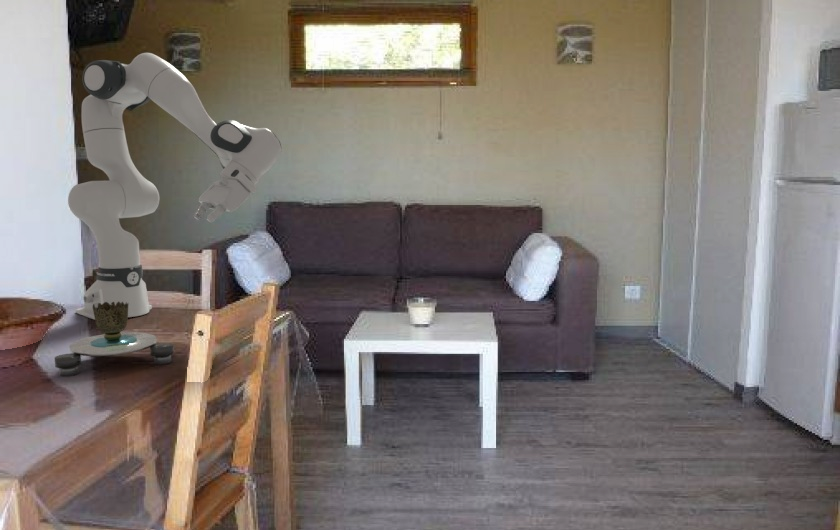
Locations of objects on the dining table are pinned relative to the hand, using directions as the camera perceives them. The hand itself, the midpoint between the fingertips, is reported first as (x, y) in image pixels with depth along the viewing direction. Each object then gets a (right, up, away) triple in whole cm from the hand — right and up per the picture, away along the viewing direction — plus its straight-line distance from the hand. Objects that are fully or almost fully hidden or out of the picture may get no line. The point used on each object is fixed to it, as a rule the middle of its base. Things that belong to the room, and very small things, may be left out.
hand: (202, 219), depth 191 cm
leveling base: (-13, -34, -27) cm, 45 cm away
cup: (-13, -29, -24) cm, 40 cm away
